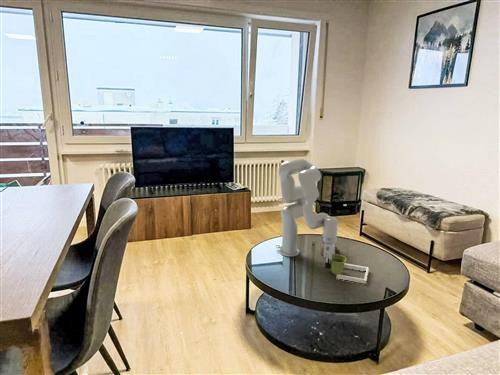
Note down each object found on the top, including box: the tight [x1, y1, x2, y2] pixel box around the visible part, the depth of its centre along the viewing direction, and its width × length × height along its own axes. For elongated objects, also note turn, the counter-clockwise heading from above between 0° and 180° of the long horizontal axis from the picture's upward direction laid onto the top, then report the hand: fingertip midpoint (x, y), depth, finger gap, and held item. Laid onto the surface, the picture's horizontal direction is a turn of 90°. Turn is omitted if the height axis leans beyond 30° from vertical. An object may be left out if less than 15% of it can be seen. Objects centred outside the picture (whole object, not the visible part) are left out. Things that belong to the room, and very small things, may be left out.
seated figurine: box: [320, 232, 340, 257], centre depth 214 cm, size 18×12×17 cm, turn 168°
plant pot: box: [330, 254, 347, 275], centre depth 192 cm, size 9×9×9 cm
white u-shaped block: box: [336, 262, 370, 284], centre depth 189 cm, size 15×15×3 cm
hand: (327, 268), depth 194 cm, fingers closed
